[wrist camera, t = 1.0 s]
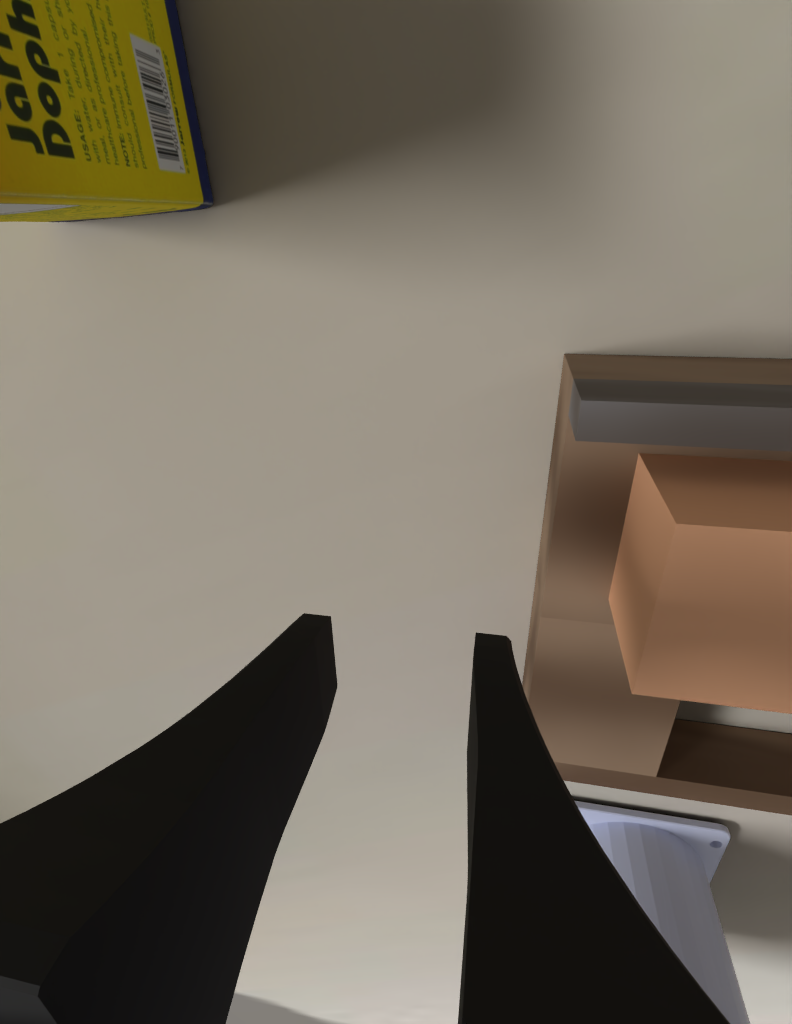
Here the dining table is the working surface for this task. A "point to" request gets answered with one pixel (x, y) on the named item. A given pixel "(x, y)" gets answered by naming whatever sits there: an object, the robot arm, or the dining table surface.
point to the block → (707, 581)
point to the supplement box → (96, 112)
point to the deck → (591, 563)
